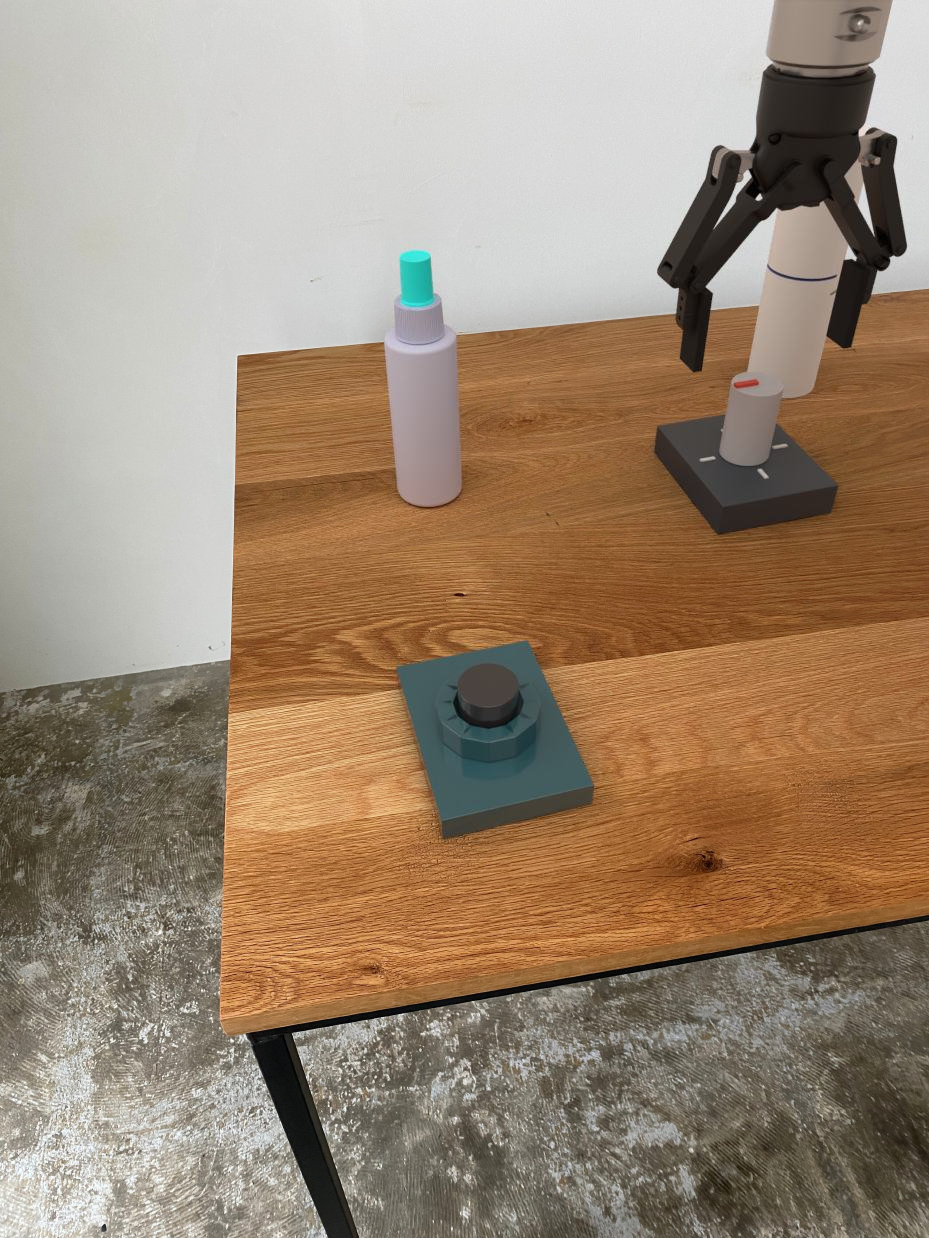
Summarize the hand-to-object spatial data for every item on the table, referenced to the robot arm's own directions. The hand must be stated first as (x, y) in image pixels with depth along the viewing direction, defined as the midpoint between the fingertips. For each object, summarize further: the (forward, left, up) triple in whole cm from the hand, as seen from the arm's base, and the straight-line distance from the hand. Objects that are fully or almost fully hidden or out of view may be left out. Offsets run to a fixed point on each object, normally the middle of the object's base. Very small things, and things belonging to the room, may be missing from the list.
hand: (765, 353), depth 78 cm
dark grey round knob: (-24, +31, -9) cm, 40 cm away
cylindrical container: (+16, -13, -13) cm, 25 cm away
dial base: (0, 0, -13) cm, 13 cm away
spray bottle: (+7, +28, -13) cm, 32 cm away
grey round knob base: (-24, +31, -13) cm, 41 cm away
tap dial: (0, 0, -10) cm, 10 cm away
